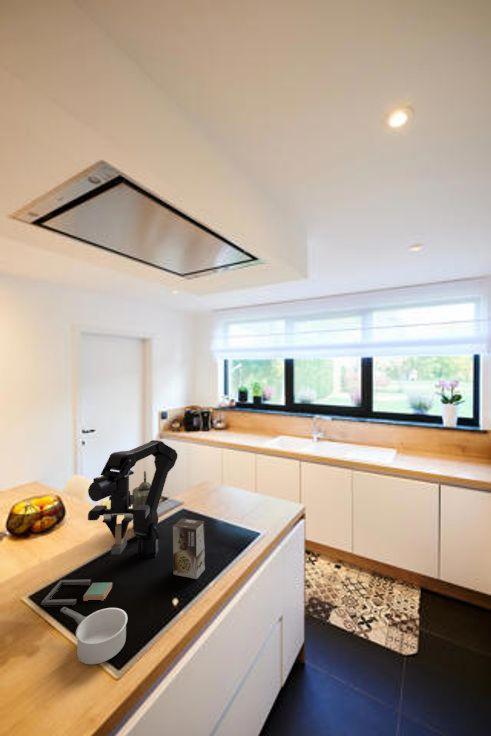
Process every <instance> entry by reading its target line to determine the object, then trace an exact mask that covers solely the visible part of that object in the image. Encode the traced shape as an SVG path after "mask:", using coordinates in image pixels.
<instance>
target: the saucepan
mask: <svg viewBox="0 0 491 736" xmlns="http://www.w3.org/2000/svg"><path fill="white" fill-rule="evenodd" d="M60 612H61V613H63V614H65V615H66V616H68V617H70V618H73V619H74V621H75V622H76V623H77V627H76V630H75V639H76V640H77V649H76V650H77V654H76V655H77V659H78V660H79V661H80V662H82V663H83V664H85V665H98V664H101V663H102V664H103V663H104V662H106V661H107V662H108V661H109V660H110V659H112V658H113V657H115V656H117V655H118V653H119V652H121V650H122V649H123V647H124V645H125V643H126V639H127V638H126V637H127V623H128V620H129V619H128V614H127V612H126V611H125V610H124V609H121V608H118V607H107V608H102V609H99V610H96V611H94V612H92V613H91V614H89V615H87V616H84V615H82V614H80V613H79V612H77V611H74V610H73V609H70V608H68V607H67V606H62V608H60Z"/></svg>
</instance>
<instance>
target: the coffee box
mask: <svg viewBox="0 0 491 736" xmlns="http://www.w3.org/2000/svg"><path fill="white" fill-rule="evenodd" d="M205 537H206V535H205V520H199V519H198V520H197V519H191V518H183V517H182V518H180V520H178V521H177V522H176V523H175V524H173V526H172V555H173V556H172V559H173V560H172V565H173V566H172V569H173V570H172V572H173V573H172V574H173V575H175V576H180V577H184V578H185V577H186V578H190V579H195V580H198V579H199V578H200V577H201V575H202V573H203V572H204V571H205V570H206V563H205V562H206V559H205V558H206V554H205V553H206V552H205V549H206V548H205V541H206V539H205Z"/></svg>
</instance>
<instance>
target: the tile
mask: <svg viewBox="0 0 491 736" xmlns="http://www.w3.org/2000/svg"><path fill="white" fill-rule="evenodd" d="M112 588H113V582H91V584H90V585H89V587H88V589H87V590H86V592H85V593H84V595H83V596H82V600H83V602H89V601H88V600H101V601H105V600H106V598H107V597H108V594H109V593H110V591H111V590H112ZM104 599H105V600H104Z"/></svg>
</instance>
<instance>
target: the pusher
mask: <svg viewBox="0 0 491 736" xmlns="http://www.w3.org/2000/svg"><path fill="white" fill-rule="evenodd" d="M127 545H128V539H127V538H123V539H122V537H121V523H117V525H116V526H115V539H114V543H113V545H112V546H111V547H110V555H121V554H122V552H123V551H124V550H125V548H126V546H127Z"/></svg>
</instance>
